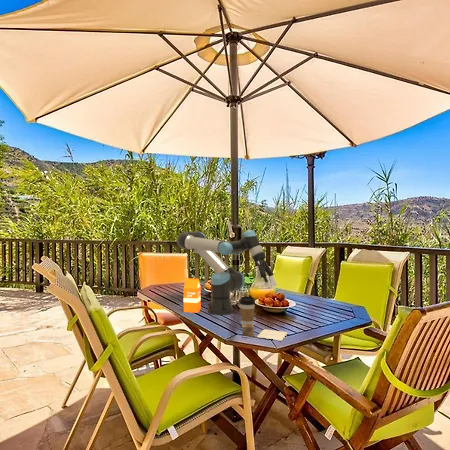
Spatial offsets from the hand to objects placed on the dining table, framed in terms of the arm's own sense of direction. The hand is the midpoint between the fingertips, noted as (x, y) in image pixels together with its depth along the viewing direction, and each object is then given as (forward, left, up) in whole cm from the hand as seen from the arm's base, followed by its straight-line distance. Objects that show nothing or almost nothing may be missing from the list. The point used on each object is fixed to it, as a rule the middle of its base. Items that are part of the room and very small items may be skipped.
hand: (272, 286), depth 197 cm
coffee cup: (-6, -28, -17) cm, 33 cm away
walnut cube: (-1, -41, -17) cm, 44 cm away
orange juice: (-48, -12, -17) cm, 52 cm away
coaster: (+10, -37, -17) cm, 41 cm away
